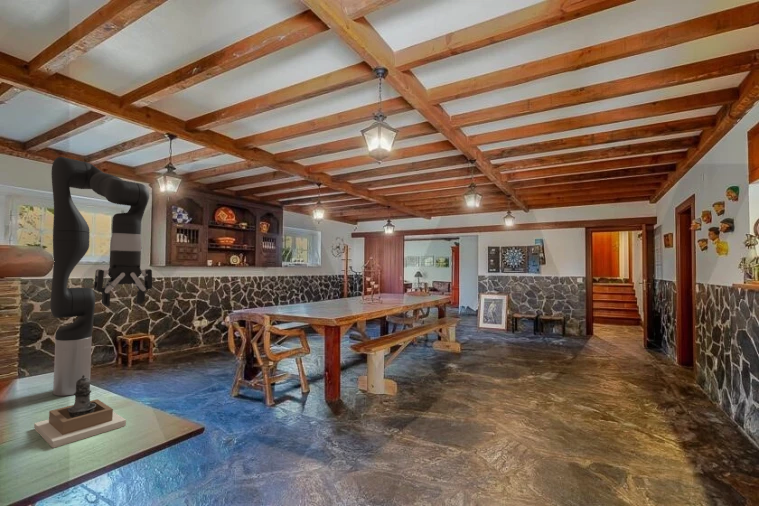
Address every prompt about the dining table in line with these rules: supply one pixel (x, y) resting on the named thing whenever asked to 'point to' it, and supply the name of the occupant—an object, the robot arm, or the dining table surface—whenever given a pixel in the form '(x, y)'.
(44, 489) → the dining table surface
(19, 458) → the dining table surface
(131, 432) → the dining table surface
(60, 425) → the shaker stand
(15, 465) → the dining table surface
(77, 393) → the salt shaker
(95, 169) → the robot arm
